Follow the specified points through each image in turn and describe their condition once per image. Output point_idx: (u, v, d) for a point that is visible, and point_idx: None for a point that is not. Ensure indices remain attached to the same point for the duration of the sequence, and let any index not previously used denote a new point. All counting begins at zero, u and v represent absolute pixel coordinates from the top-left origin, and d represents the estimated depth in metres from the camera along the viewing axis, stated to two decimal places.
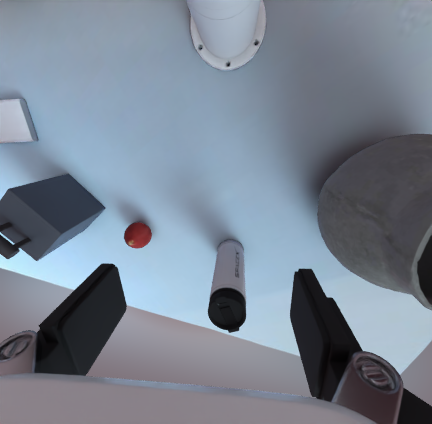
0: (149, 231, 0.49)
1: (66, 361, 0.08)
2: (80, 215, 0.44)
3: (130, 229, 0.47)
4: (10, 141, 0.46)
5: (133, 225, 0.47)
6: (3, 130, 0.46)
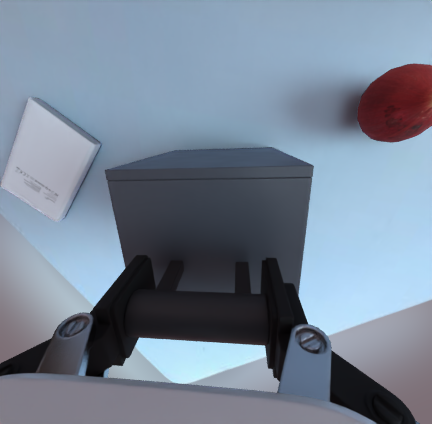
0: None
1: (115, 342, 0.09)
2: (268, 153, 0.17)
3: (390, 87, 0.16)
4: (75, 180, 0.26)
5: (380, 84, 0.17)
6: (56, 173, 0.26)
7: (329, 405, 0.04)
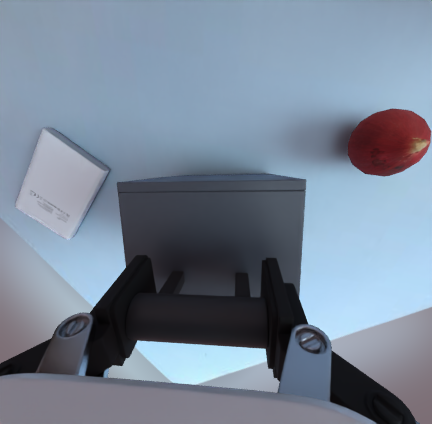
0: None
1: (115, 342, 0.09)
2: None
3: (376, 132, 0.18)
4: (86, 203, 0.28)
5: (367, 126, 0.19)
6: (68, 196, 0.28)
7: (329, 405, 0.04)
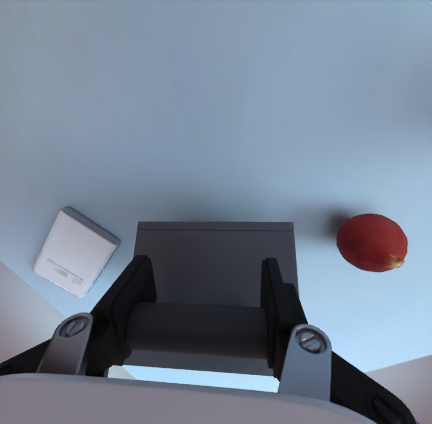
0: None
1: (115, 342, 0.09)
2: None
3: (359, 241, 0.20)
4: (98, 270, 0.30)
5: (352, 232, 0.21)
6: (82, 264, 0.30)
7: (329, 405, 0.04)
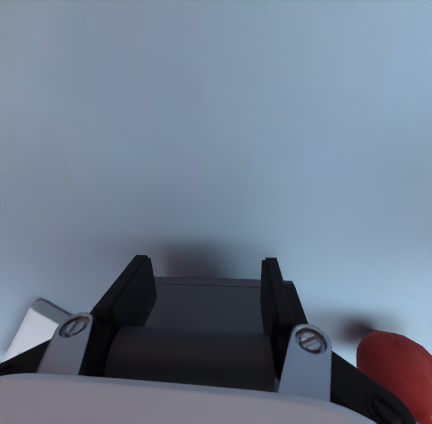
0: (419, 348, 0.17)
1: None
2: None
3: (389, 385, 0.16)
4: None
5: (379, 368, 0.17)
6: None
7: (329, 405, 0.04)
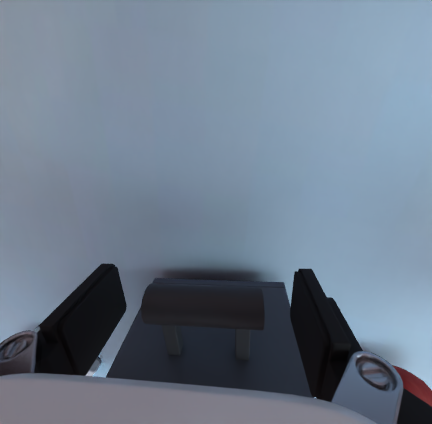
0: (420, 384, 0.17)
1: (66, 361, 0.08)
2: None
3: None
4: None
5: None
6: None
7: (329, 405, 0.04)
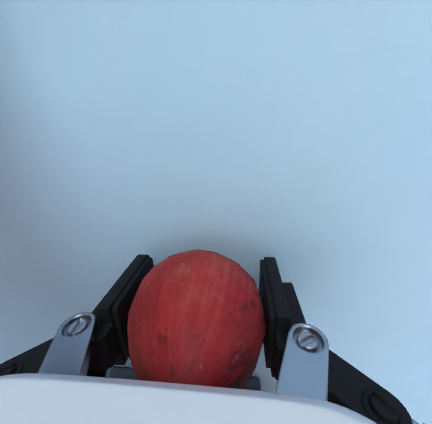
0: None
1: (117, 342, 0.09)
2: None
3: None
4: None
5: None
6: None
7: (329, 405, 0.04)
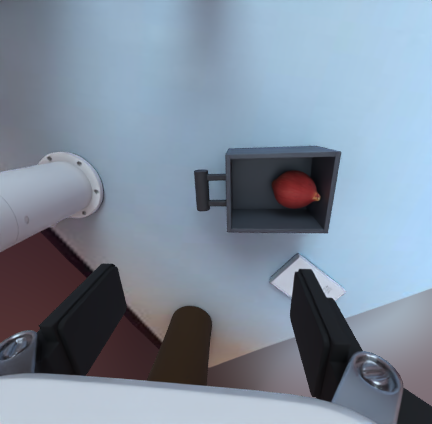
0: (283, 186, 0.31)
1: (66, 361, 0.08)
2: None
3: (298, 207, 0.32)
4: (319, 273, 0.41)
5: (290, 207, 0.33)
6: None
7: (329, 405, 0.04)
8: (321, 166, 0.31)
